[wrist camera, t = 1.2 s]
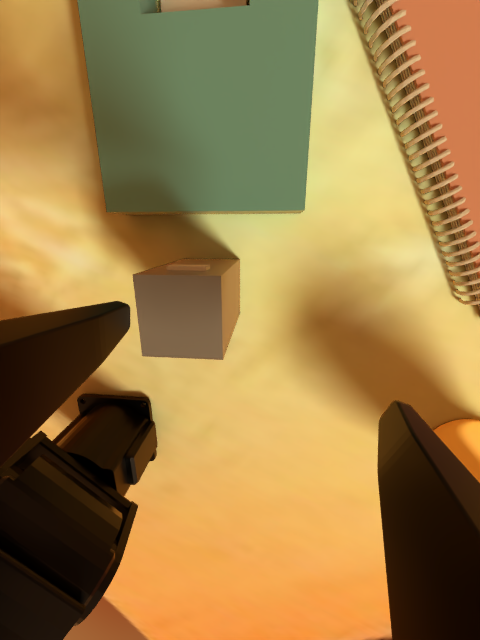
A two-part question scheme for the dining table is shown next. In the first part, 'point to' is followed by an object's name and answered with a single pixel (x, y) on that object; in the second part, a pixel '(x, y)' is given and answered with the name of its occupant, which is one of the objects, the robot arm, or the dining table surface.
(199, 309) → the block
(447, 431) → the beer glass
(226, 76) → the green slotted board
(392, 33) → the notebook
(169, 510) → the dining table surface
